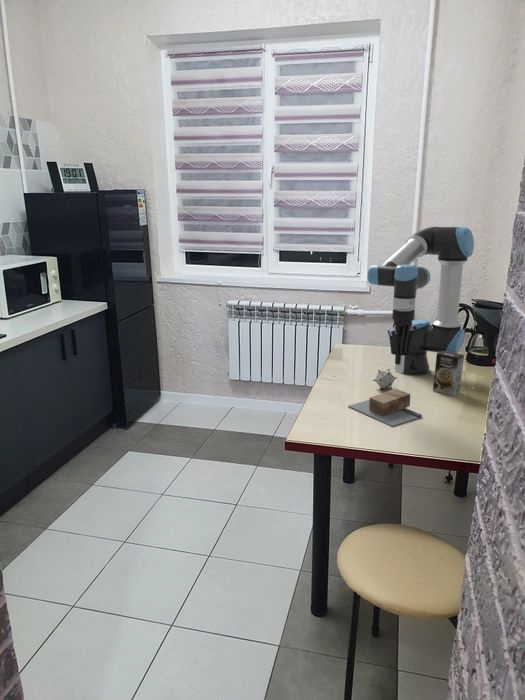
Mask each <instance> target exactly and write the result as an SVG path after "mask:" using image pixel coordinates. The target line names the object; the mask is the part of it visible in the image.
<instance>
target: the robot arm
mask: <svg viewBox="0 0 525 700" xmlns="http://www.w3.org/2000/svg"><path fill="white" fill-rule="evenodd" d="M474 247H475V239H474V235H473V232H472V230H471V229H470V228H468V227H464V226H463V227H460V226H431V227H429V226H428V227H426V228H423V229H421V230H419V231H417V232H415V233H413V234H412V235H410V236H409V237H408V238H407V239H406V240H405V243H404V244H403V246H401V248H399V249H398V250H397V251H396V252H394V253H393V254H392V255H391V256H390V257H389V258H387V259H386V260H385V261H384V262H382V264H372V265H371V266H369V268H368V271H367V281H368V283H369V284H371V285H376V286H383V287H393V299H392V301H393V302H392V308H393V309H392V316H391V318H392V320H393V325H392V328H391V329H388V330H387V334H388V337H389V338H388V339H389V344H390V354H391V355H395V359H394V365H395V366H394V370H395V372H396V373H398V374H405V375H409V376H422V375H423V376H424V375H427V374H429V373H430V364H429V360H428V356H427V353H428V352H431V353H432V352H433V353H436V354H437V353H439V352H442V351H447V352H452V353H457V354H459V352H460V350H461V348H462V347H463V344H464V341H465V337H466V330H465V329H463V328H461V327H462V323H461V322H460V321H459V311H460V310H459V309H460V308H459V307H460V299H461V298H460V296H461V288H462V280H463V278H462V277H463V269H464V268H463V267H464V265H465V264H466V262H468V258H471V256H472V255H473V253H474V249H475V248H474ZM425 255H426V256H427V255H431V256H433V255H434V256H437V261H438V262H439V264H440V276H439V287H438V288H439V290H438V299H437V301H438V302H437V309H436V311H437V313H436V319H435V320H434V321H433V322H432V324H431V323H430V321H429V320H426V319H416V320H415V310H414V309H415V308H416V295H417V290H418V289H422V288H424V287H425V286H427V285H428V284H429V283H430V281H431V273H430V270H429V269H428V268H426V267H424V266H416V265H415V264H412V263H414V262H415V261H416V260H417V259H418V258H421V257H424V256H425Z"/></svg>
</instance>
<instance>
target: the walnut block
mask: <svg viewBox="0 0 525 700" xmlns="http://www.w3.org/2000/svg"><path fill="white" fill-rule="evenodd" d="M368 400H369V410H370V411H372V412H375V413H377V414H379V415H382V416H386V415H388V414H391V413H394V412H396V411H399V410H401V409H404V408H406V409H408V408H409V407H411V406H410V405H411V393H410V392H406V391H404V390H401V389H399V388H392V389H390V390H387V391H384V392H382V393H379V394H376V395H373V396H370V397H369V399H368Z"/></svg>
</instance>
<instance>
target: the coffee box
mask: <svg viewBox="0 0 525 700" xmlns="http://www.w3.org/2000/svg"><path fill="white" fill-rule="evenodd" d="M464 359H465V354H463V353H452V352H447V351H442V352H439V353H437V352H436V359H435V366H434V367H435V368H434V377H433V385H432V386H433V388H432V391H433V392H437V393H441V394H443V395H444V394H445V395H448V396H452V397H455V396H456V395H458V394H459V393H461V383H462V375H463V368H464V367H463V366H464V362H465V360H464Z"/></svg>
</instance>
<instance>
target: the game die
mask: <svg viewBox="0 0 525 700" xmlns="http://www.w3.org/2000/svg"><path fill="white" fill-rule="evenodd" d="M377 371H378V372H377V375H376V377H375V379H373V380H372V381H373V382H375V383H377V385H378V387H380V390H382V389H387V388H390V390H393V388H392V385H393V384H394V381H395V380H396V379H398V377H397V376H396V377H395V375H393V374H392V372H391V371H390V368H388V369H386V370H379V369H377Z"/></svg>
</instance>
